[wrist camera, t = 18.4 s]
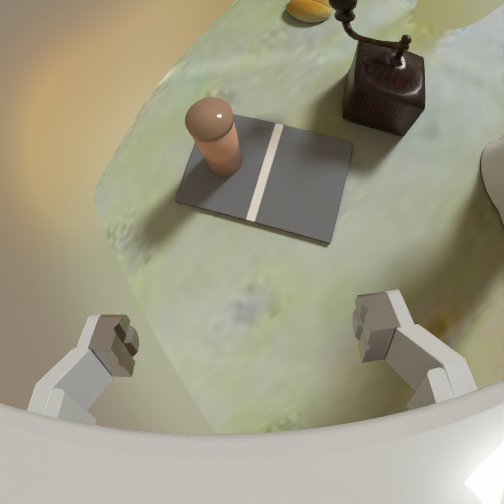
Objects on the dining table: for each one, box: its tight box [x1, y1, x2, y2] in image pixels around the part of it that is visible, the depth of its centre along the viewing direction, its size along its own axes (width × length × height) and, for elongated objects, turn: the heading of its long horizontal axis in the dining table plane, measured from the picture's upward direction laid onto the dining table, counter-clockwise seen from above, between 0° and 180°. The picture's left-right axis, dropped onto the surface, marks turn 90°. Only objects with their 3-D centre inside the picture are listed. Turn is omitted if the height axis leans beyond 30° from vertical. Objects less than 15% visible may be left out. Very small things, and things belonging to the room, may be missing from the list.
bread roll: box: [287, 0, 332, 23], centre depth 45 cm, size 8×9×4 cm
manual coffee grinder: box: [328, 0, 425, 136], centre depth 35 cm, size 16×11×18 cm
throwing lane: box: [175, 114, 353, 244], centre depth 44 cm, size 22×15×1 cm
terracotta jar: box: [185, 98, 243, 176], centre depth 38 cm, size 5×5×12 cm
